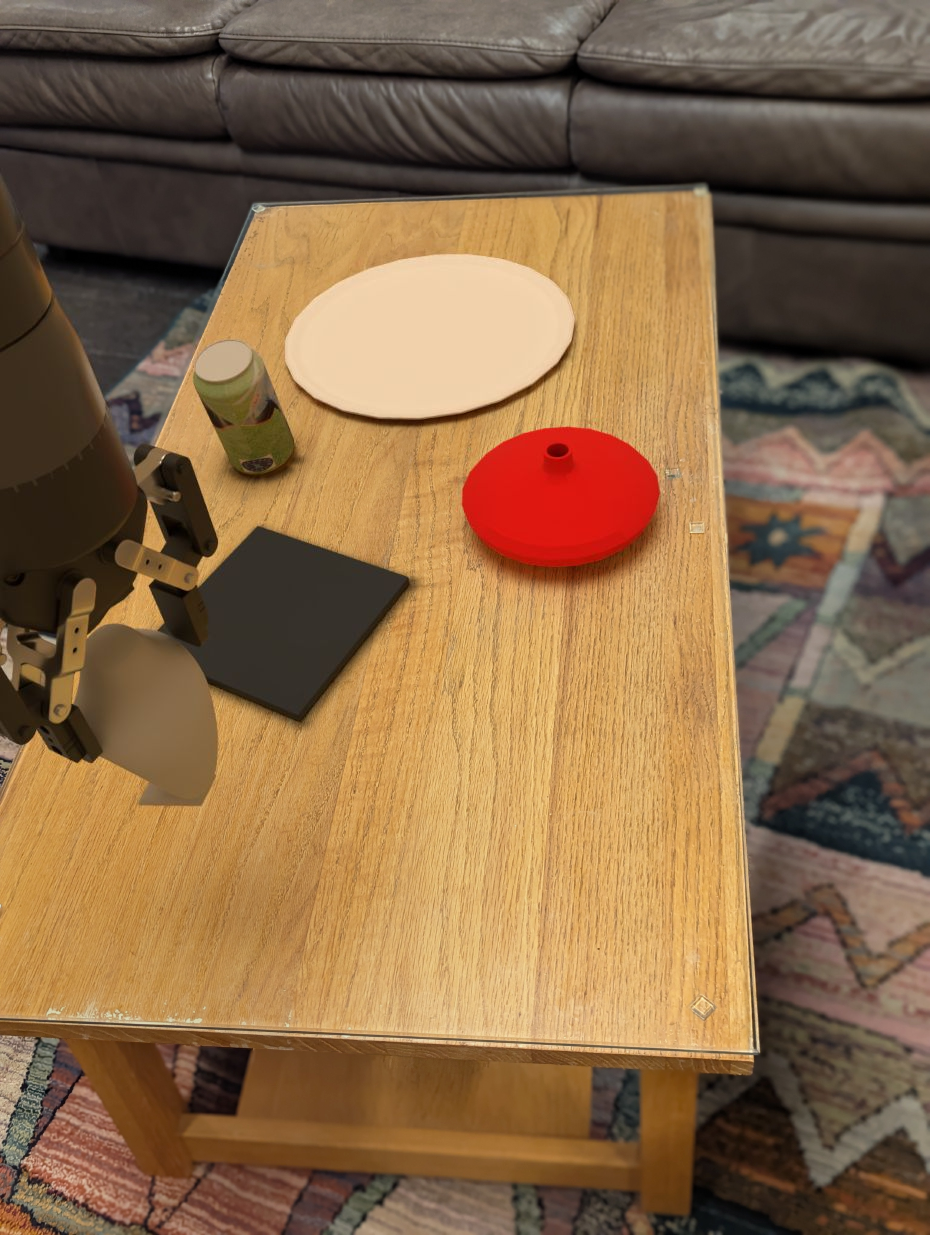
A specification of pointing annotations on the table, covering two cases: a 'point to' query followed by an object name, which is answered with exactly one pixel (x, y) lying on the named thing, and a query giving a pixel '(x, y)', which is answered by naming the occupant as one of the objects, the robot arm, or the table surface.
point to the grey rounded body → (150, 712)
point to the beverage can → (243, 406)
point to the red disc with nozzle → (560, 496)
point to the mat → (288, 619)
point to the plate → (429, 336)
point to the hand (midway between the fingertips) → (139, 692)
